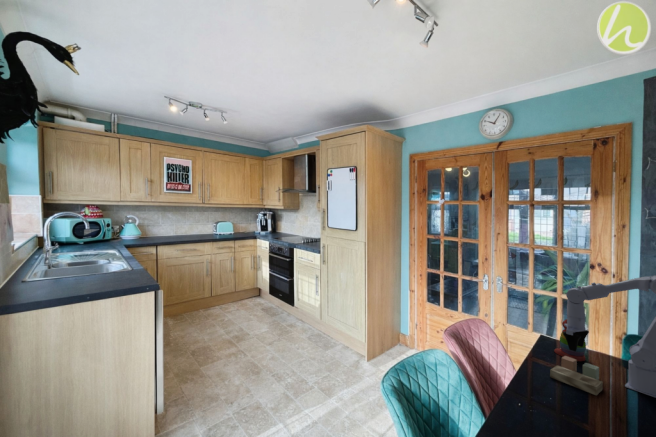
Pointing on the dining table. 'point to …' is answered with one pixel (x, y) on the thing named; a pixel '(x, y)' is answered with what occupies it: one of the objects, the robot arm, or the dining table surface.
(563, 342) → the stacking bear
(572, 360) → the terracotta block
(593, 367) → the sage block
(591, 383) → the birch board
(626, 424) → the dining table surface
